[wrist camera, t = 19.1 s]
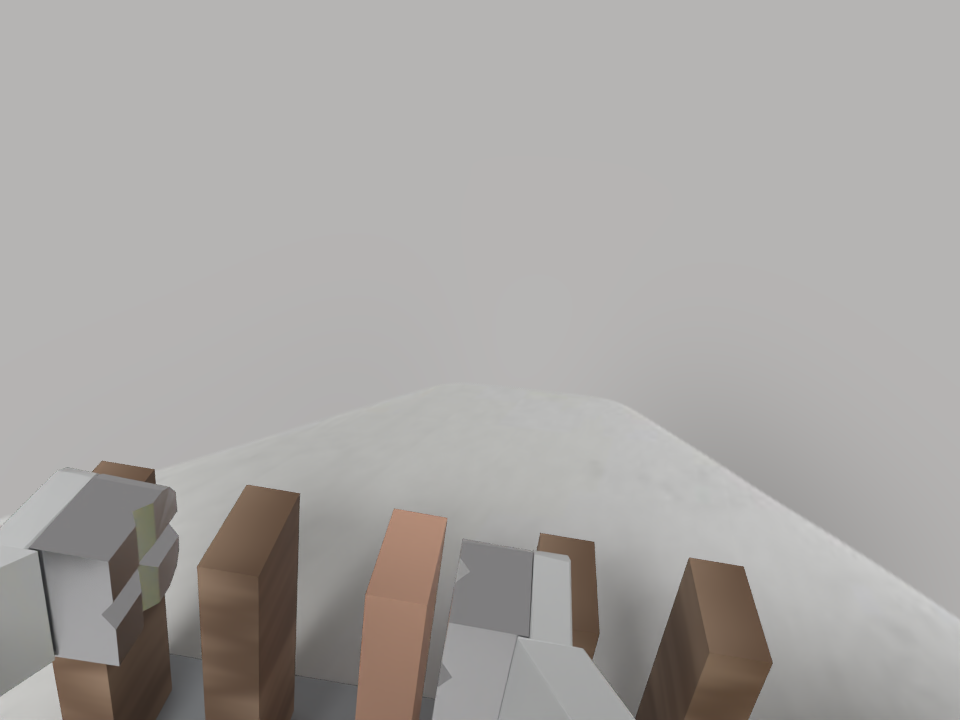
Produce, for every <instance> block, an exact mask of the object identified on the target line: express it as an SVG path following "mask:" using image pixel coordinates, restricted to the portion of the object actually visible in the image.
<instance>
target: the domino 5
mask: <svg viewBox="0 0 960 720" xmlns="http://www.w3.org/2000/svg"><path fill="white" fill-rule="evenodd" d="M772 664H773V662H772V659H771V656H770V652H769V649H768V646H767V642H766V639H765V636H764V632H763V629H762V626H761V623H760V619H759V616H758V613H757V609H756V606H755V603H754V600H753V596H752V593H751V590H750V586H749V583H748V580H747V576H746V573H745V570H744V567H743V566H737V565H731V564H725V563H719V562H713V561H707V560H701V559H695V558H689V559H688V562H687V565H686V568H685V571H684V574H683V577H682V580H681V583H680V586H679V589H678V592H677V595H676V598H675V601H674V604H673V607H672V610H671V613H670V616H669V619H668V622H667V625H666V628H665V631H664V634H663V637H662V640H661V643H660V646H659V649H658V652H657V655H656V658H655V661H654V664H653V667H652V670H651V673H650V676H649V679H648V682H647V685H646V688H645V691H644V694H643V697H642V700H641V703H640V706H639V709H638V712H637V715H636V718H635V719H636V720H748V719H749V716H750V714H751V712H752V709H753V707H754V705H755V703H756V700H757V698H758V696H759V693H760V691H761V689H762V687H763V684H764V682H765V680H766V677H767V675H768V673H769V671H770V668H771V666H772Z"/></svg>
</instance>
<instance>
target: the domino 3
mask: <svg viewBox="0 0 960 720" xmlns="http://www.w3.org/2000/svg"><path fill="white" fill-rule="evenodd" d="M446 524H447V518H445V517H439V516H433V515H428V514H422V513H416V512H410V511H405V510H399V509H394V510H393V513H392V516H391V519H390V522H389V525H388V528H387V531H386V534H385V537H384V540H383V543H382V546H381V549H380V552H379V555H378V558H377V561H376V564H375V567H374V570H373V573H372V576H371V579H370V582H369V585H368V588H367V591H366V594H365V606H364V618H363V630H362V642H361V654H360V666H359V679H358V691H357V703H356V715H355V720H419V717H420V710H421V702H422V695H423V688H424V681H425V674H426V667H427V660H428V653H429V645H430V638H431V631H432V624H433V617H434V610H435V603H436V595H437V588H438V581H439V574H440V567H441V560H442V553H443V546H444V538H445V531H446Z"/></svg>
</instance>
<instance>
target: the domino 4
mask: <svg viewBox="0 0 960 720" xmlns="http://www.w3.org/2000/svg"><path fill="white" fill-rule="evenodd" d="M537 551H543V552H549V553H555V554H562V555H568V557H569V558H570V560H571V597H572V646H573V647H578V648H583V649H584V650H585V651H586V653H587V654H588V656H589V657H590V658H591V660H592V659H593V655H594V652H595V648H596V645H597V641H598V638H599V616H598V599H597V581H596V564H595V546H594V542H591V541H585V540H579V539H573V538H567V537H561V536H555V535H549V534H543V533H540V537H539V542H538V546H537Z"/></svg>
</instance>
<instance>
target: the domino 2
mask: <svg viewBox="0 0 960 720" xmlns="http://www.w3.org/2000/svg"><path fill="white" fill-rule="evenodd" d="M299 504H300V493H294V492H288V491H282V490H276V489H270V488H264V487H258V486H252V485H246V487H245V489H244V490H243V492H242V493H241V495H240V497H239V498H238V500H237V502H236V503H235V505H234V507H233V508H232V510H231V512H230V513H229V515H228V517H227V518H226V520H225V521H224V523H223V525H222V526H221V528H220V530H219V531H218V533H217V535H216V536H215V538H214V540H213V541H212V543H211V545H210V546H209V548H208V549H207V551H206V553H205V554H204V556H203V558H202V559H201V561H200V563H199V564H198V566H197V573H198V592H199V611H200V630H201V649H202V668H203V687H204V706H205V720H291V717H292V714H293V711H294V688H295V652H296V615H297V578H298V541H299Z"/></svg>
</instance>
